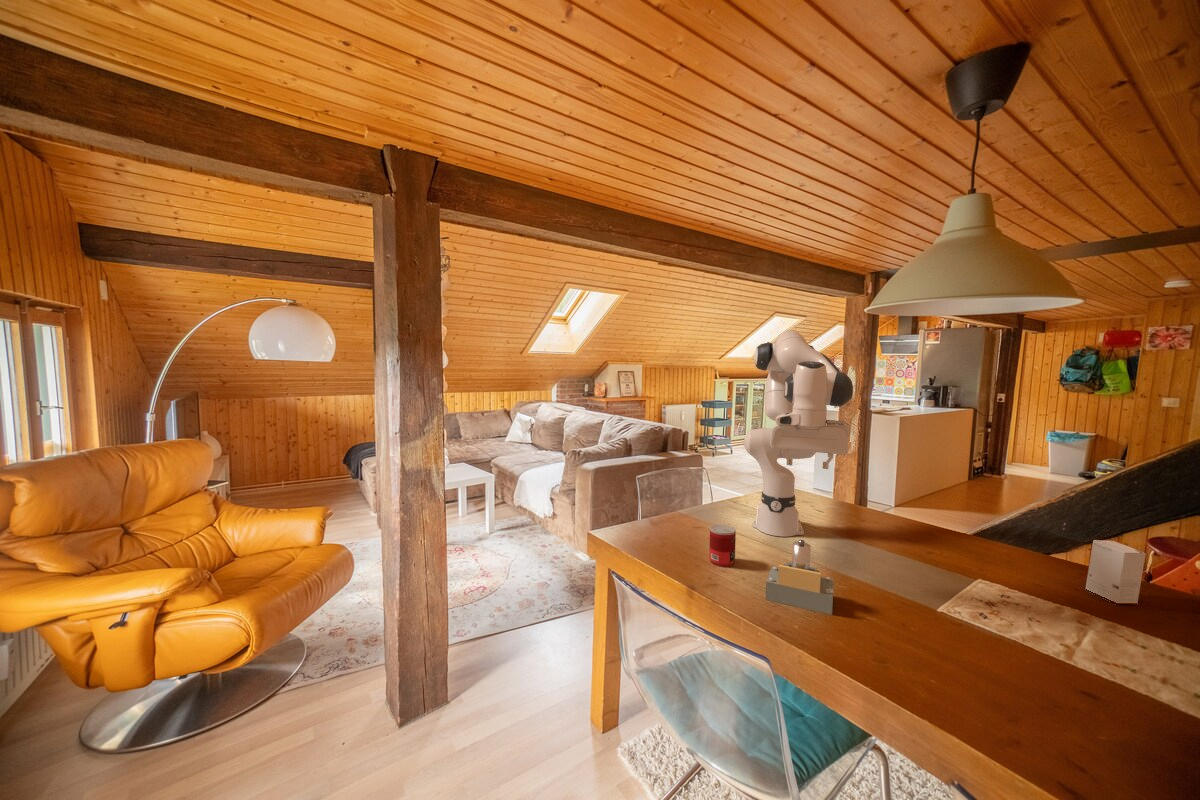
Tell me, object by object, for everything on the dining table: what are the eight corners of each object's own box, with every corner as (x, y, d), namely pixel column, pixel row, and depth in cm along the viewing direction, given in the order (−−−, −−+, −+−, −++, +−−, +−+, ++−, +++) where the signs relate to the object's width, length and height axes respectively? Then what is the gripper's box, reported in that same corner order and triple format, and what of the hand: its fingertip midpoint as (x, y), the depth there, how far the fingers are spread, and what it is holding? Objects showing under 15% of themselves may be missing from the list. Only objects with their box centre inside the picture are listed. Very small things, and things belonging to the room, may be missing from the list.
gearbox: (771, 583, 132) (772, 550, 132) (832, 597, 125) (834, 561, 124) (765, 599, 124) (766, 563, 123) (832, 614, 116) (833, 576, 115)
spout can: (792, 575, 127) (794, 535, 126) (809, 579, 125) (811, 538, 124) (790, 582, 123) (792, 540, 122) (808, 585, 121) (810, 543, 120)
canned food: (735, 568, 142) (736, 534, 142) (709, 566, 144) (710, 532, 143) (733, 558, 150) (734, 525, 149) (708, 555, 152) (709, 523, 151)
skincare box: (1084, 590, 129) (1089, 539, 128) (1106, 590, 129) (1111, 539, 127) (1118, 606, 120) (1123, 551, 119) (1141, 606, 120) (1146, 551, 119)
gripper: (850, 419, 128) (848, 468, 129) (773, 415, 137) (771, 461, 139) (850, 422, 122) (848, 473, 123) (770, 417, 132) (768, 465, 133)
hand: (807, 466), depth 131 cm, fingers open, 8 cm apart
